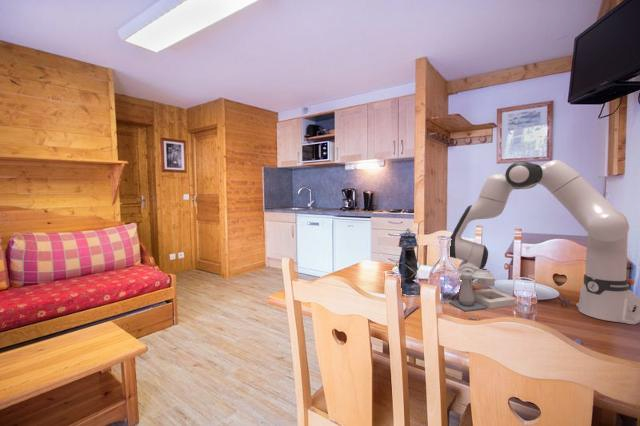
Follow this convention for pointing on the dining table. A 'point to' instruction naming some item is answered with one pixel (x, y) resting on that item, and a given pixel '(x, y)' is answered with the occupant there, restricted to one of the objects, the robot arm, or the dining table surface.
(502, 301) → the socket block
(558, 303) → the dining table surface
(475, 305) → the rubber pad
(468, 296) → the salt shaker
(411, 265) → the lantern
